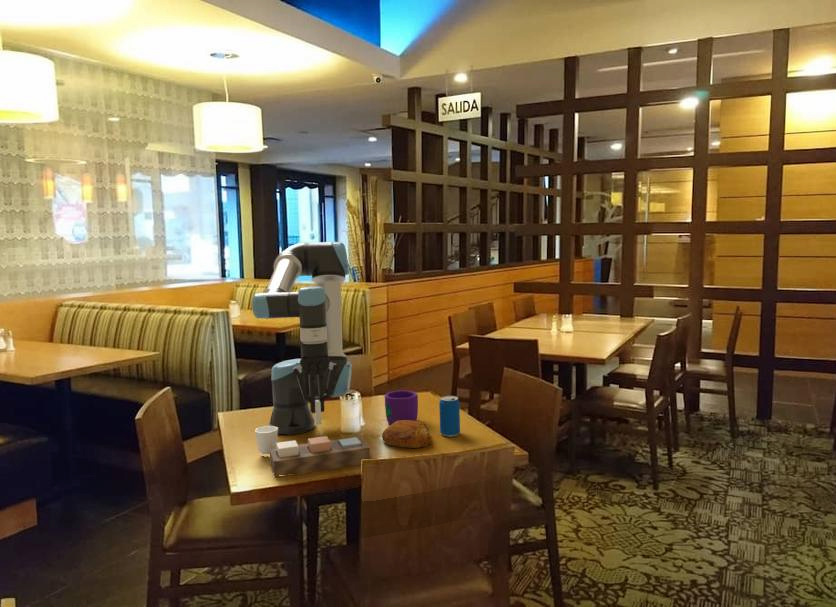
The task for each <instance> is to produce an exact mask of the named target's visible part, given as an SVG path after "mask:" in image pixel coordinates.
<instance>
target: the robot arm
mask: <svg viewBox="0 0 836 607" xmlns="http://www.w3.org/2000/svg"><path fill="white" fill-rule="evenodd" d="M273 262H274V263H273V272H272V274H271V277H270V280H269V283H268V285H267V287H266V289H265V291H264V292H260V293H255V294H254V295H253V296H252V304H251V305H252V308H251V309H252V314H253V316H254V317H255V318H256V319H266V320H269V319H285V318H290V319H291V318H299V338H300V341H301V343H300V356H301V358H294V359H293V358H292V359H287V360H283V361H281V362H280V361H279V362H278V363H275V364H274V365H273V366H272V368H271V379H270V381H271V391H272V392H271V393H272V404H273V408H272V412H271V416H270V419H269V423H268V424H269V425H268V426H275V427H278V434H294V435H298V434H297V433H300V434H303V433H302V432H304V433H306V432H305V431H308V430H310V431H312V430H313V429H315V425H316V426H317V425H318V426H321V425H322V413H324V412H325V400H327V399H330V398H336V397H337V398H338V397H343V396H342V395H345V394H346V393H347V394H348V393H349V391H350V388H351V382H352V381H351V379H352V367H353V365H352V362H351V361H348V356H347V355H346V354H345V353H344V352H343V324H342V323H343V317H342V316H343V314H342V313H343V312H342V311H343V310H342V308H343V307H342V306H343V304H342V284H343V283H344V282H345V281H346V276H348V275H349V274H350V266H349V259H348V254H347V249H346V245H345V244H344V243H343V242H342V241H322V242H321V241H320V242H319V241H318V242H316V241H315V242H298V243H295V244H293V245H291V246H288V247H287V248H285V249H284V250H282V251H281V252H280V253H279V254H278V255H277V257H276V258H275V260H274V261H273ZM305 276H307V277H311V281H312V282H313V283H314V284H315V285H316V286H305V287H300V288H299V289H298V291H293V288H294V285H295V282H296V280H297V279H298V278H299V277H305ZM345 396H346V395H345ZM316 398H317V399H316ZM312 414H314V416H313V415H312ZM312 428H313V429H312ZM311 429H312V430H311ZM308 432H309V431H308Z"/></svg>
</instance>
